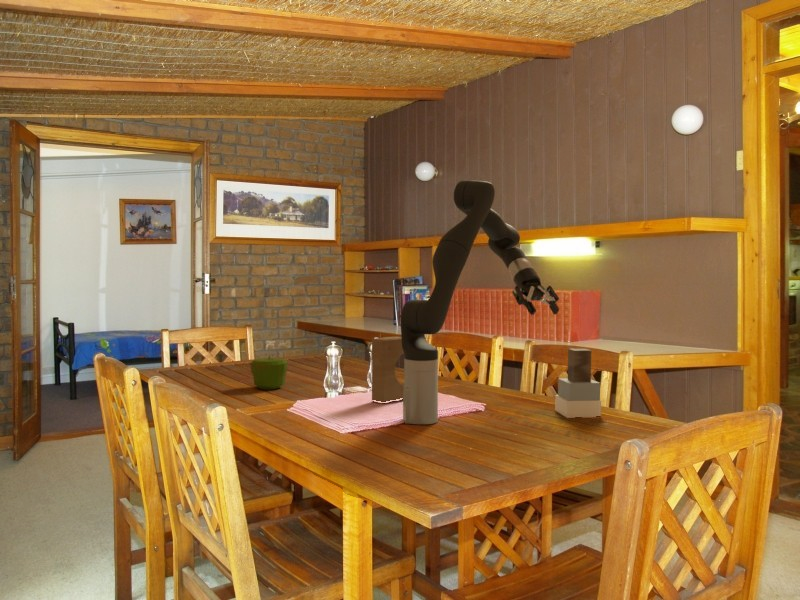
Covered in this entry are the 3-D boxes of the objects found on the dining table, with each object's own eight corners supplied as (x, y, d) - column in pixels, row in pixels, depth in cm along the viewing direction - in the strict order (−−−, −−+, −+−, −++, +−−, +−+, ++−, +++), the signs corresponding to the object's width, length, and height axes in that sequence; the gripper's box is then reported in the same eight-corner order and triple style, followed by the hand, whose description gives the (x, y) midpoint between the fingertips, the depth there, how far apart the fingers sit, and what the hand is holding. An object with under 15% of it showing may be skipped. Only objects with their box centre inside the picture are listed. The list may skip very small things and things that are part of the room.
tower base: (566, 418, 190) (566, 401, 190) (555, 411, 200) (555, 394, 200) (600, 418, 191) (601, 400, 191) (587, 410, 201) (588, 394, 201)
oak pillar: (573, 382, 193) (574, 350, 192) (567, 379, 197) (568, 348, 197) (590, 381, 193) (591, 350, 193) (584, 379, 198) (584, 348, 198)
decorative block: (395, 397, 220) (395, 336, 219) (408, 399, 216) (408, 337, 215) (370, 401, 212) (370, 338, 211) (383, 404, 208) (383, 339, 207)
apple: (292, 385, 241) (292, 354, 241) (278, 391, 230) (278, 358, 229) (260, 384, 244) (260, 353, 244) (245, 390, 232) (244, 357, 232)
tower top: (569, 401, 190) (569, 383, 190) (558, 395, 199) (558, 378, 199) (599, 400, 191) (600, 382, 191) (587, 394, 200) (587, 377, 200)
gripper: (510, 266, 211) (531, 305, 201) (547, 267, 217) (569, 304, 207) (500, 283, 216) (521, 321, 206) (537, 283, 222) (558, 320, 212)
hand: (545, 312), depth 207 cm, fingers open, 8 cm apart
